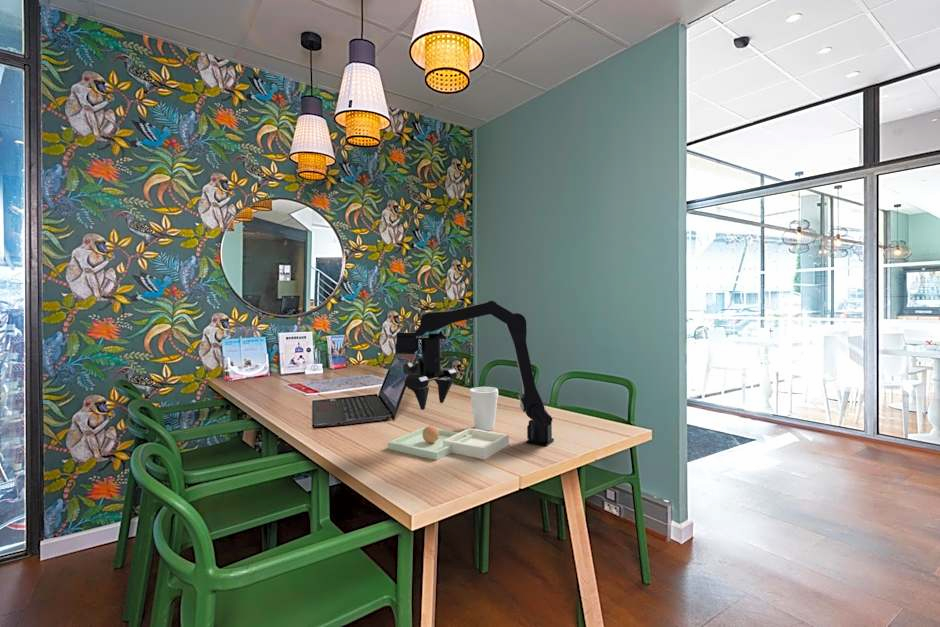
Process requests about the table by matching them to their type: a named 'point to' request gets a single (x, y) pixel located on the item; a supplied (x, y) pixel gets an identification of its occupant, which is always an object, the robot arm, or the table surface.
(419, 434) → the tray
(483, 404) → the foam cup
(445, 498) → the table surface
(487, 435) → the white square open box
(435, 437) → the ball
